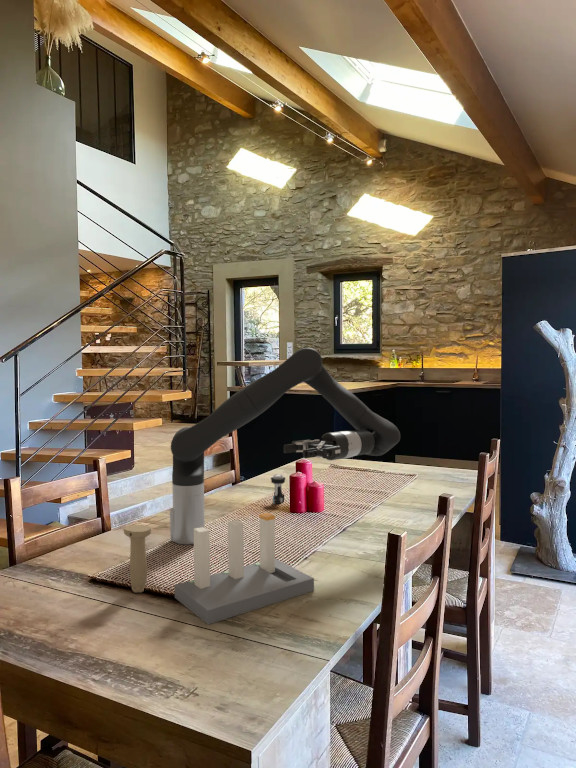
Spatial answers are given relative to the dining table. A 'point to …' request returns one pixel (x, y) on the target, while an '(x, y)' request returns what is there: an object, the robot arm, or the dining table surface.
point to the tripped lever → (267, 542)
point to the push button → (278, 488)
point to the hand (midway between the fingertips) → (293, 451)
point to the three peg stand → (236, 581)
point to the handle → (138, 555)
